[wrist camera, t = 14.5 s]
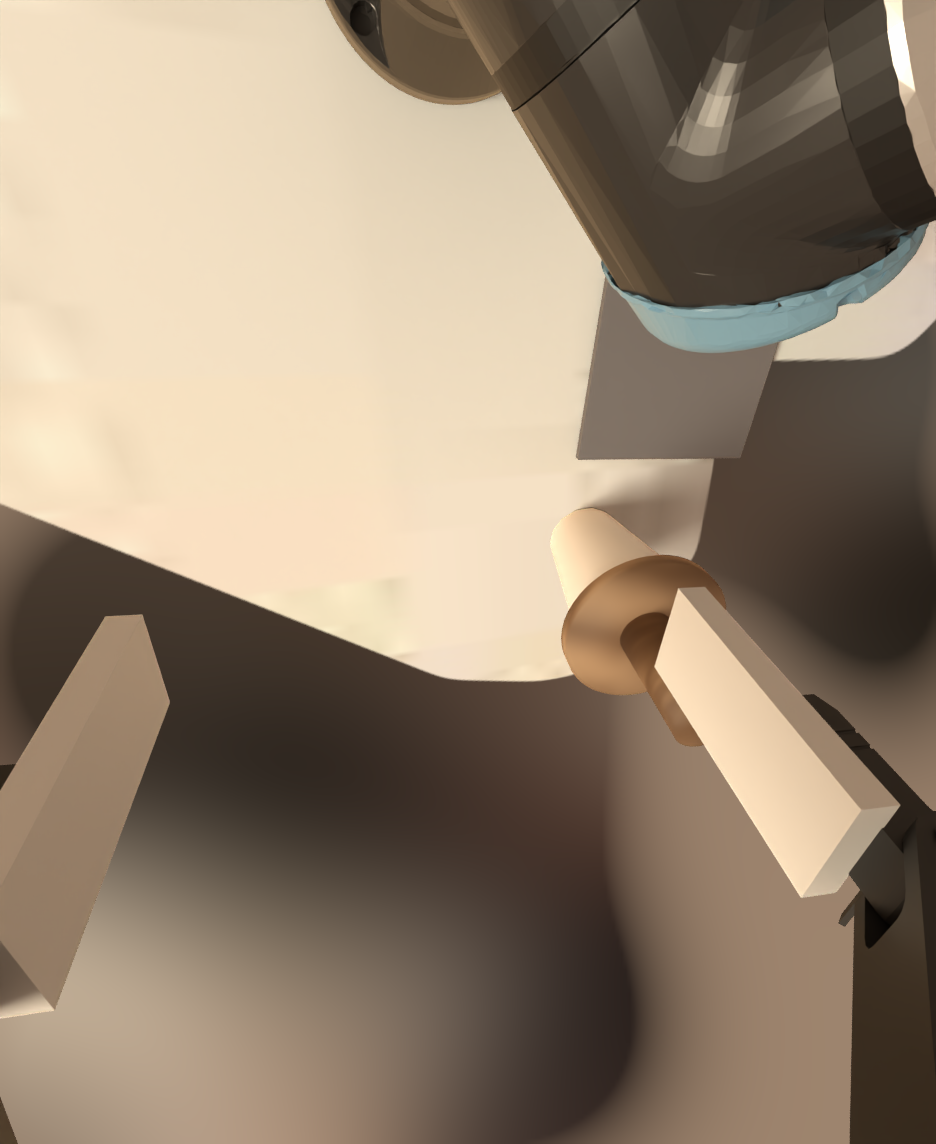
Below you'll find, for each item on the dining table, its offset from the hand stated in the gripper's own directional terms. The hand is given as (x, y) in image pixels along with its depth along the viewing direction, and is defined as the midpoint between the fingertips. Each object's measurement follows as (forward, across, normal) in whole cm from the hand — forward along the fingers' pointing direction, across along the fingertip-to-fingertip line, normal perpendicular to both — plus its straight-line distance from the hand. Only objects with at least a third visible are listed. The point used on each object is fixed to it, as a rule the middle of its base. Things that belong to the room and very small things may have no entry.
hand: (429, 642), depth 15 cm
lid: (+20, +18, -16) cm, 31 cm away
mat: (+33, +24, 0) cm, 40 cm away
